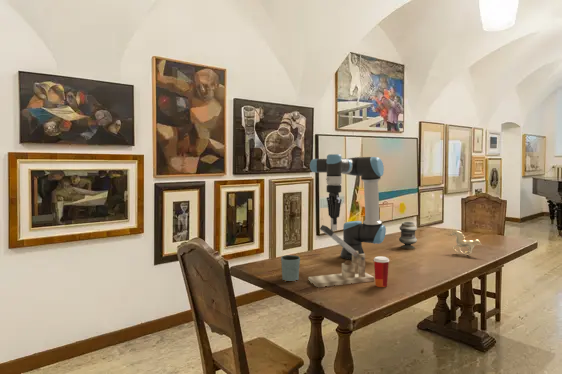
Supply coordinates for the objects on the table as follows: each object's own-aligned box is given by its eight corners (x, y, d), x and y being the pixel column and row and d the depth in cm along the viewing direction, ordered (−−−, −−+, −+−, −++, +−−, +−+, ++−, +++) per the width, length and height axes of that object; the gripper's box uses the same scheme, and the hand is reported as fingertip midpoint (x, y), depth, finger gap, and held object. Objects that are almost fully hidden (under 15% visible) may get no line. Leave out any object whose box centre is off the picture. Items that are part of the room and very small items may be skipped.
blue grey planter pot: (289, 275, 218) (289, 254, 218) (304, 279, 212) (304, 256, 211) (277, 280, 211) (277, 257, 210) (292, 283, 204) (292, 260, 203)
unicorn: (482, 256, 255) (483, 230, 254) (480, 258, 253) (481, 231, 252) (451, 252, 269) (451, 226, 268) (448, 253, 267) (449, 227, 266)
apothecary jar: (399, 249, 281) (399, 223, 280) (399, 245, 292) (399, 221, 291) (417, 249, 277) (417, 224, 276) (416, 246, 289) (416, 221, 288)
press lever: (356, 258, 213) (358, 254, 214) (361, 261, 208) (364, 256, 208) (319, 228, 206) (322, 224, 206) (324, 230, 200) (327, 226, 201)
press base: (362, 274, 219) (362, 249, 218) (374, 280, 207) (374, 254, 206) (308, 280, 209) (308, 254, 208) (317, 287, 198) (317, 259, 197)
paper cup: (386, 283, 203) (386, 255, 203) (391, 287, 196) (391, 259, 195) (371, 283, 203) (371, 256, 202) (375, 288, 196) (375, 260, 195)
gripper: (322, 184, 209) (321, 229, 210) (332, 185, 196) (332, 233, 198) (335, 183, 211) (334, 228, 212) (346, 185, 199) (346, 232, 200)
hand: (333, 230), depth 205 cm, fingers closed
